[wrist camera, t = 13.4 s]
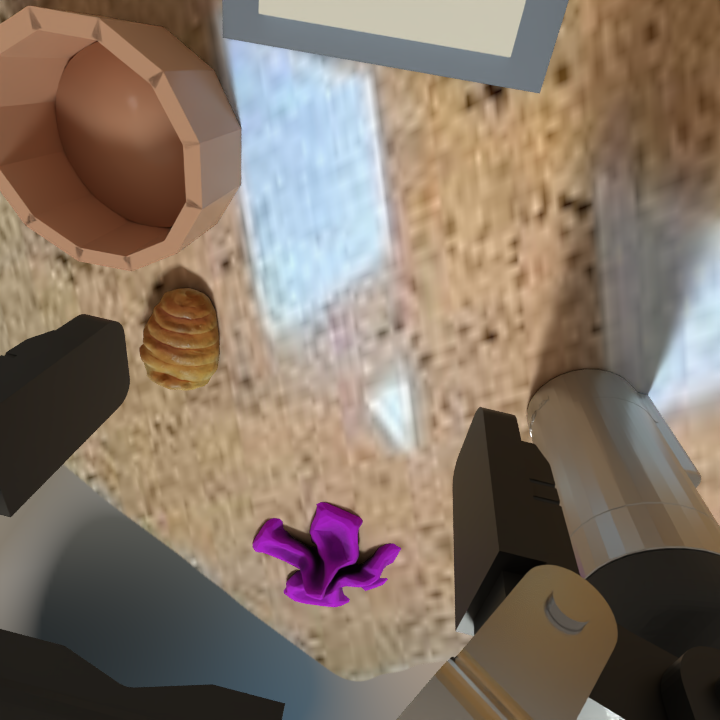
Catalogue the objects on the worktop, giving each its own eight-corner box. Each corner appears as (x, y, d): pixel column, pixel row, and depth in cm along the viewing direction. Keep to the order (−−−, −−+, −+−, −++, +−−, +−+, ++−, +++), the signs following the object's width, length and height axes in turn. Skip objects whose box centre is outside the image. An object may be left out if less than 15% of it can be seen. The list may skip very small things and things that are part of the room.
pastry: (157, 271, 40) (133, 289, 36) (234, 298, 40) (217, 318, 37) (150, 358, 45) (128, 381, 41) (218, 380, 45) (202, 405, 42)
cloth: (307, 609, 66) (296, 656, 60) (222, 529, 58) (202, 574, 53) (452, 575, 57) (454, 625, 52) (374, 476, 50) (368, 524, 45)
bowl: (241, 40, 30) (195, 34, 24) (240, 250, 37) (205, 285, 31) (29, 3, 30) (-68, -12, 24) (71, 218, 38) (5, 247, 32)
